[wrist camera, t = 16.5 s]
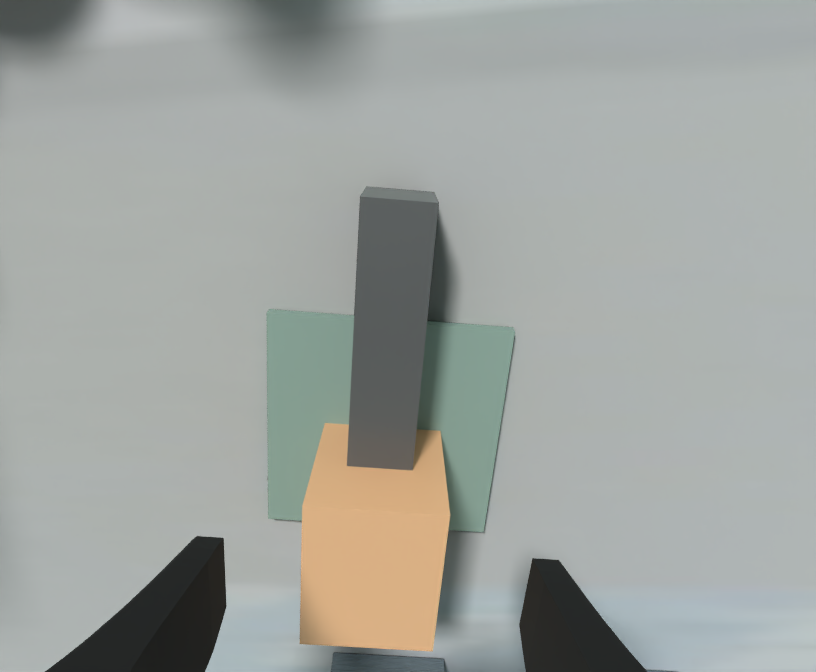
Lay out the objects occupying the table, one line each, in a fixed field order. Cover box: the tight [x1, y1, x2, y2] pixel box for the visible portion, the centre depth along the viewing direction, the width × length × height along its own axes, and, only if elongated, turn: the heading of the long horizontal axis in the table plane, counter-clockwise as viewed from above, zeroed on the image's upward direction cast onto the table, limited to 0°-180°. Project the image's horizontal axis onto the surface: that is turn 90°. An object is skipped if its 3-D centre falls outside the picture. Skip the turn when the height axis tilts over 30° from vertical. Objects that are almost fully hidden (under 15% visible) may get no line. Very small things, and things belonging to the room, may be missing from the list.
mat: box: [267, 309, 515, 532], centre depth 20 cm, size 8×8×1 cm
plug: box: [300, 187, 450, 651], centre depth 17 cm, size 4×13×4 cm, turn 175°
